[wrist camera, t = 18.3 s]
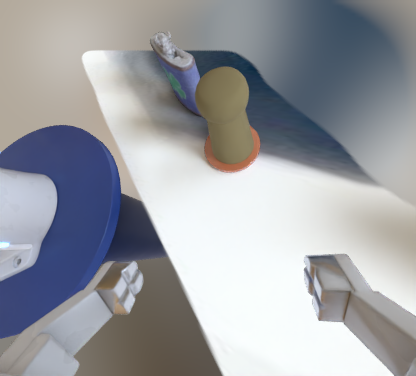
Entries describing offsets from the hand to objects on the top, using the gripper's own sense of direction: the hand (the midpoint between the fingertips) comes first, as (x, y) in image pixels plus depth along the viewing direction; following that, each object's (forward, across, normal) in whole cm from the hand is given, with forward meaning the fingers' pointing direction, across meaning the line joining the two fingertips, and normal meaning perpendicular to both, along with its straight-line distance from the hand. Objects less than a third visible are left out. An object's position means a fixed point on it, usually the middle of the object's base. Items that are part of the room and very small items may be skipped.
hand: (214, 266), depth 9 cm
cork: (+21, -1, 0) cm, 21 cm away
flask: (+28, +6, -7) cm, 30 cm away
